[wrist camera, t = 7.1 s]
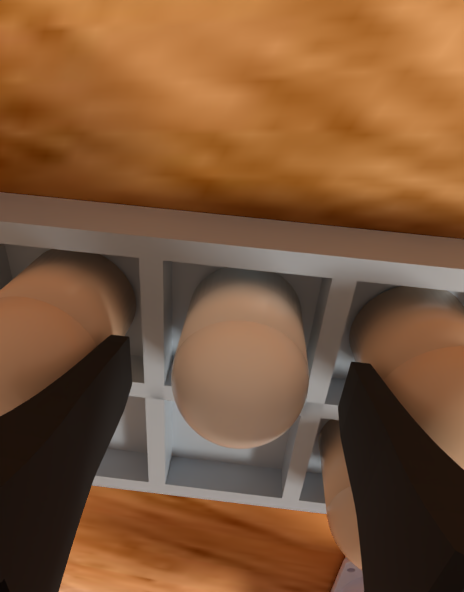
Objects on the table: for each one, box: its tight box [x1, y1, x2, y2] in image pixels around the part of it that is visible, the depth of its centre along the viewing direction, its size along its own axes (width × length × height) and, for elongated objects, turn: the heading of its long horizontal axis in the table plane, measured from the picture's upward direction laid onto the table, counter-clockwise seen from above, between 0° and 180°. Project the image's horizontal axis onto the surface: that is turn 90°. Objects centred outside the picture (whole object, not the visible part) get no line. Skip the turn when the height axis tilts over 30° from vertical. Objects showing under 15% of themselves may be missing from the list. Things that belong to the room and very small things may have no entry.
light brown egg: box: [171, 267, 309, 449], centre depth 14 cm, size 4×4×6 cm
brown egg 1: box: [0, 249, 136, 416], centre depth 14 cm, size 4×4×6 cm
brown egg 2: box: [318, 419, 362, 570], centre depth 17 cm, size 4×4×6 cm
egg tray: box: [0, 192, 464, 514], centre depth 18 cm, size 14×20×3 cm
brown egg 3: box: [349, 286, 464, 469], centre depth 14 cm, size 4×4×6 cm
